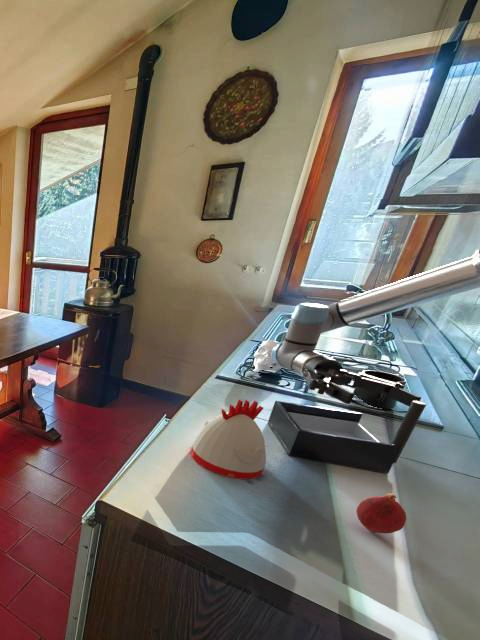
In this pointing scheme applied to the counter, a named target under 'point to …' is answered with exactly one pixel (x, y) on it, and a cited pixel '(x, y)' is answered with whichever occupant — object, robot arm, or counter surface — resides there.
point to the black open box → (329, 440)
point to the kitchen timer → (232, 443)
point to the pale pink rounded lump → (265, 357)
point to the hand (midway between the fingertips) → (383, 400)
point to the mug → (376, 397)
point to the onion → (381, 514)
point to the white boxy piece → (356, 429)
